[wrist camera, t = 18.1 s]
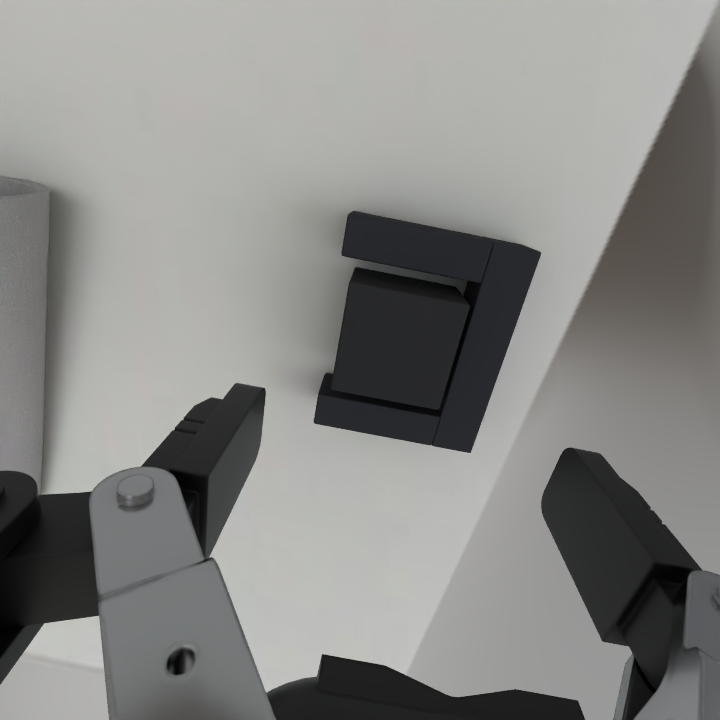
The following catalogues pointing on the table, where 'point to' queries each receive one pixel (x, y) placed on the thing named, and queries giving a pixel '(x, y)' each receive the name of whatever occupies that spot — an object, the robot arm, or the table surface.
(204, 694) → the robot arm
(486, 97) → the table surface
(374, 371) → the matte black cube
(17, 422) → the long tapered cone
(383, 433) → the dark u-shaped bracket
